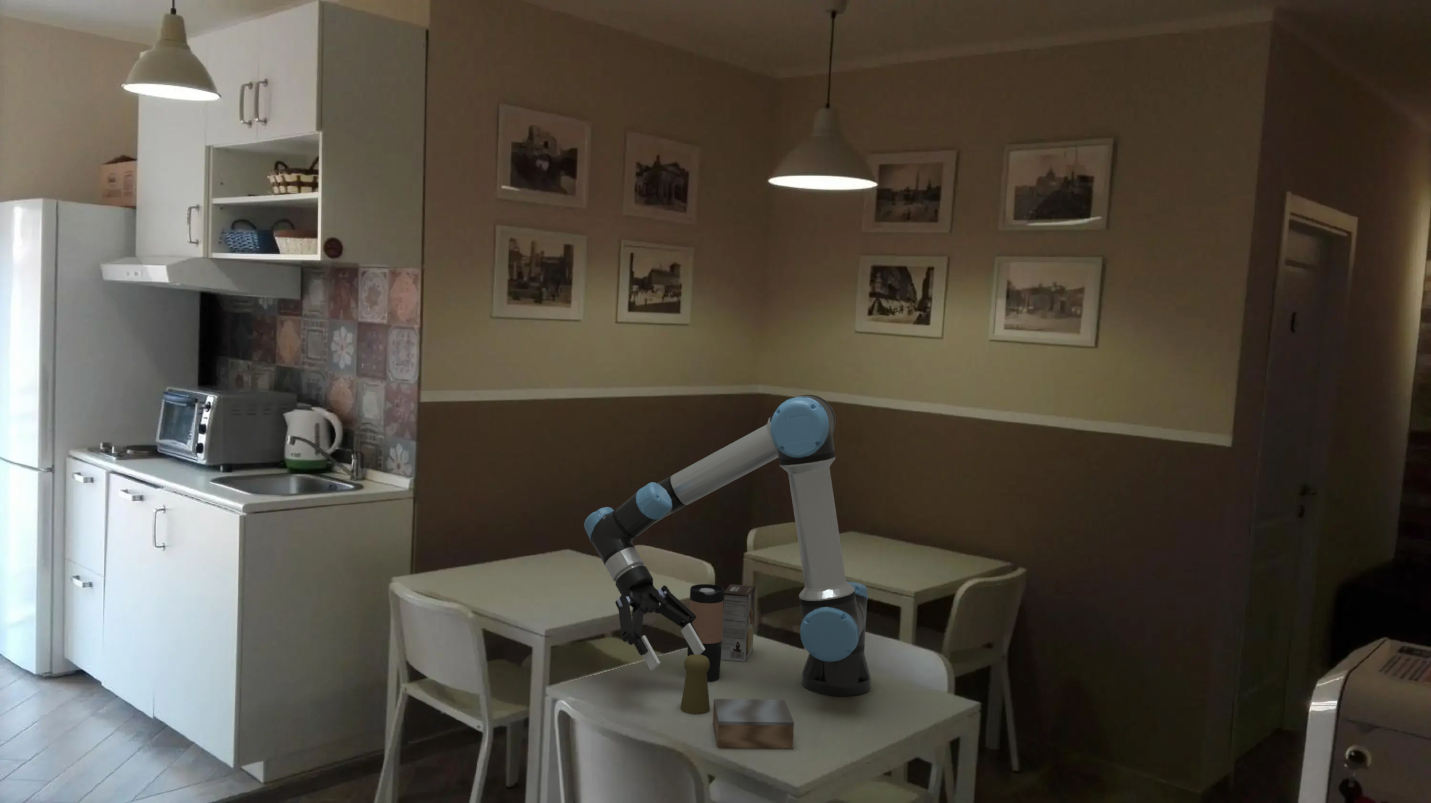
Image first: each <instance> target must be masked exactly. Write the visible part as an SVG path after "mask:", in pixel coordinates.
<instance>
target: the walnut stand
mask: <svg viewBox="0 0 1431 803" xmlns="http://www.w3.org/2000/svg"><path fill="white" fill-rule="evenodd" d="M789 709H790V708H789V706H788V705H787V702H786V699H752V698H749V699H748V698H747V699H746V698H743V699H742V698H735V699H734V698H713V709H712V710H713V712H712V727H713V732H714V737H715V740H716V746H717V749H724V748H725V749H780V748H781V749H784V748H789V750H790V749H793V748H794V747H793V745H794V729H795V728H794V727H795V725H794V724H795V722H794V720H793V717H792V714H791V712H790V710H789Z"/></svg>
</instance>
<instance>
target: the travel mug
mask: <svg viewBox="0 0 1431 803" xmlns="http://www.w3.org/2000/svg"><path fill="white" fill-rule="evenodd" d="M689 589H690V590H689V605H688V606H689V608H688V609H689V610H690V611H691V612H692V613H694V614H695V615H696V619H695V620H694V621H693V622H692V625H693V626H694V628H695V630H696V632H697V633H698V636H699V637H698V638H699V639H700V641H701V643H702V644H703V646H704V648H705V650H704V651H703V652H702V653H701V654H700V655H704V656H706V657H707V658H708V659H709V662H710V667H709V670H708V671H707V682H708V683H710V682H711V683H712V682H716V681H717V680H719V679H720V674H721V661H722V660H721V649H722V632H723V604H724V591H725V589H724V587H722V586H720V585H717V584H709V583H708V584H707V583H703V584H702V583H699V584H693V585H691V586H690V588H689ZM689 655H694V653H693V651H692V649H691V648H690V646H689V644H688V643H687V657H688V656H689ZM687 657H686V658H687Z"/></svg>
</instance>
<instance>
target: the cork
mask: <svg viewBox="0 0 1431 803" xmlns="http://www.w3.org/2000/svg"><path fill="white" fill-rule="evenodd" d="M683 667H684V670H685V671H686V674H685V679H684V684H683V690H682V695H681V696H682V697H681V703H680V706H679V708H680V712H682V713H684V714H685V713H686V714H689V715H704V714H707V713H709V712H710V711H711V707H710V706H711V705H710V694H709V684H708V683H709V682H707V671H708V670H709V667H710V662H709V659H708V658H707V657H706V656H704V655H699V654H694V655H689V656H688V657H686V658H685V659H684V661H683Z"/></svg>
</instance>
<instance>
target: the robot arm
mask: <svg viewBox="0 0 1431 803" xmlns="http://www.w3.org/2000/svg"><path fill="white" fill-rule="evenodd" d="M836 424H837V420H836V414H835V412H834V409H833V407H832V406H831V405H830V404H829V403H828V401H827V400H826V399H824V398H822V397H821V396H818V395H814V394H803V395H799V396H796V397H792V398H788V399H786V400H785V401H784V402H782V403H780V405H779V406H778V407H777V409H775V411H774V413H773V415H772V416H770V417H769V418H768V420H767V423H766V424H764V425H763V426H761V427H759V428H757V429H756V430H754V431H752V432H750V433H748V434H747V435H745V436H743V437H741V438H739V439H737V440H734V442H732V443H729V444H728V445H726V446H724V447H723V448H720V449H718V450H716V451H715V452H713V453H711V454H709V455H707V456H706V457H704V458H701V459H700V460H698V461H696V462H695V463H693V464H691V465H689V466H686V467H685V468H683V469H681V470H680V471H678V472H676V473H673V474H672V475H671V476H669V477H666V478H665V479H663V480H661V481H659V482H657V483H656V482H653V481H652V482H649V483H647V484H646V485H644V486H642V487H641V488H639V489H638V490H637V492H635V493H634V494H633V495H632V496H630V498H628V499H626V501H624V502H623V503H622V504H620V506H618V508H615V509H613V508H612V507H609V506H605V507H604V506H603V507H601V508H598V509H597V510H596V511H593V512H592V513H590V514H589V515H588V516H587V517H586V519H585V520H584V524H583V527H584V530H585V532H586V534H587V536H588V538H589V541H590V543H591V544H592V546H593V548H594V549H595V551H596V552H597V554H598V556H599V558H600V559H601V561H602V563H603V565H604V566H605V569H606V571H607V572H608V574H609V575H610V577H611V579H612V580H613V582H615V586H616V588H617V591H618V592H619V594H620V596H619V597H618V598H617V599H616V601H615V605H616V608H617V611H618V616H619V625H620V633H621V634H620V635H621V640H622V641H623V642H624V643H626V642H627V644H628V645H629V646H633V645H634V646H635V647H634V648H635V649H636V651H637V652H638V654H639V655H640V656H642V658H643V660H644V661H645V664H646V665H647V667H648V669H649V671H650V672H651V671H654V670H655V669H657V667H658V666H659V665H660V664H661V661H660V660H659V658H658V656H657V654H656V653H655V652H656V651H654V649H653V647H652V645H651V644H650V642H649V639H648V638H647V636H646V635H642V630H643V621H644V615H646V614H648V613H649V614H650V613H651V614H652V613H656V614H660V615H662V616H664V617H665V618H666V619H668V620H670V621H671V622H672V623H674V624H675V625H677V626H678V627H680V628H682V629H680V632H681V634H682V635H683V637H684V639H685V641H686V643H687V645H688V644H689V646H690V648H691V649H692V651H693V653H694V654H699V655H700V654H701V653H702V652H703V651H704V650H705V648H704V646H703V644H702V643H701V641H700V639H699V638H698V637H699V636H698V633H697V632H696V630H695V628H694V626H693V625H692V622H693V621H694V620H695V619H696V615H695V614H694V613H692V612H691V611H690V610H689V608H688V607H687V606H686V605H685V604H684V603H682V601H681V600H679V599H678V598H677V597H676V596H675V595H674V594H673V593H672V592H671V591H670V589H669V587H668V586H666V585H662V586H661V588H658V589H657V588H656V587H655V586H654V577H653V576H652V574H651V572H650V571H649V569H648V567H647V566H645V561H644V560H643V559H642V557H641V555H640V554H639V552H638V550H637V548H636V546H635V545H634V543H633V541H634V540H635V539H636V538H638V536H640V535H641V534H642V533H643V532H645V531H647V529H649V528H650V527H651V526H653V525H654V524H656V523H657V522H659V521H660V520H663V519H664V518H666V517H668V516H670V515H672V514H674V513H676V512H677V511H679V510H681V509H683V508H684V507H687V506H688V505H690V504H691V503H694V502H696V501H698V500H699V499H701V498H703V497H705V496H707V495H709V494H711V493H713V492H715V491H716V490H720V489H721V488H722V487H724V486H726V485H728V484H730V483H732V482H735V480H738V479H739V478H741V477H744V476H745V475H747V474H749V473H751V472H753V471H755V470H757V469H759V468H761V467H762V466H764V465H766V464H768V463H771V462H772V461H774V460H776V459H778V462H779V463H778V464H779V467H780V468H781V469H783V470H784V471H786V472H787V474H788V480H789V489H790V495H791V500H792V508H793V516H794V521H795V528H796V535H797V541H798V542H797V543H798V550H799V555H800V563H801V571H802V578H803V583H804V584H803V585H804V587H803V589H802V590H801V591H800V593H799V594H798V599H799V608H800V613H801V623H800V627H799V628H800V629H799V634H800V635H799V636H800V640H801V643H802V645H803V647H804V648H805V650H806V652H808V656H807V659H806V661H805V664H804V666H803V669H802V672H801V684H802V686H803V687H804V688H805V689H807V690H809V691H811V692H814V693H818V694H820V695H826V696H833V697H834V696H835V697H836V696H837V697H853V696H859V695H863V694H866V693H867V692H869V691H870V690H871V688H872V687H871V682H872V677H871V674H870V669H869V666H868V662H867V658H866V655H865V646H866V645H865V642H866V625H867V610H868V609H867V608H868V607H867V606H868V600H869V596H868V588H867V586H866V585H865V584H863V583H860V582H853V581H847V578H846V573H845V565H844V558H843V553H842V552H843V551H842V545H841V537H840V531H839V530H840V529H839V524H838V517H837V510H836V504H835V497H834V490H833V483H832V482H833V481H832V477H831V465H832V464H833V462H835V460H836V452H835V445H834V443H835V442H834V437H833V434H834V432H835V429H836V426H837V425H836ZM631 608H632V609H631ZM631 610H632V611H631Z"/></svg>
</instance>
